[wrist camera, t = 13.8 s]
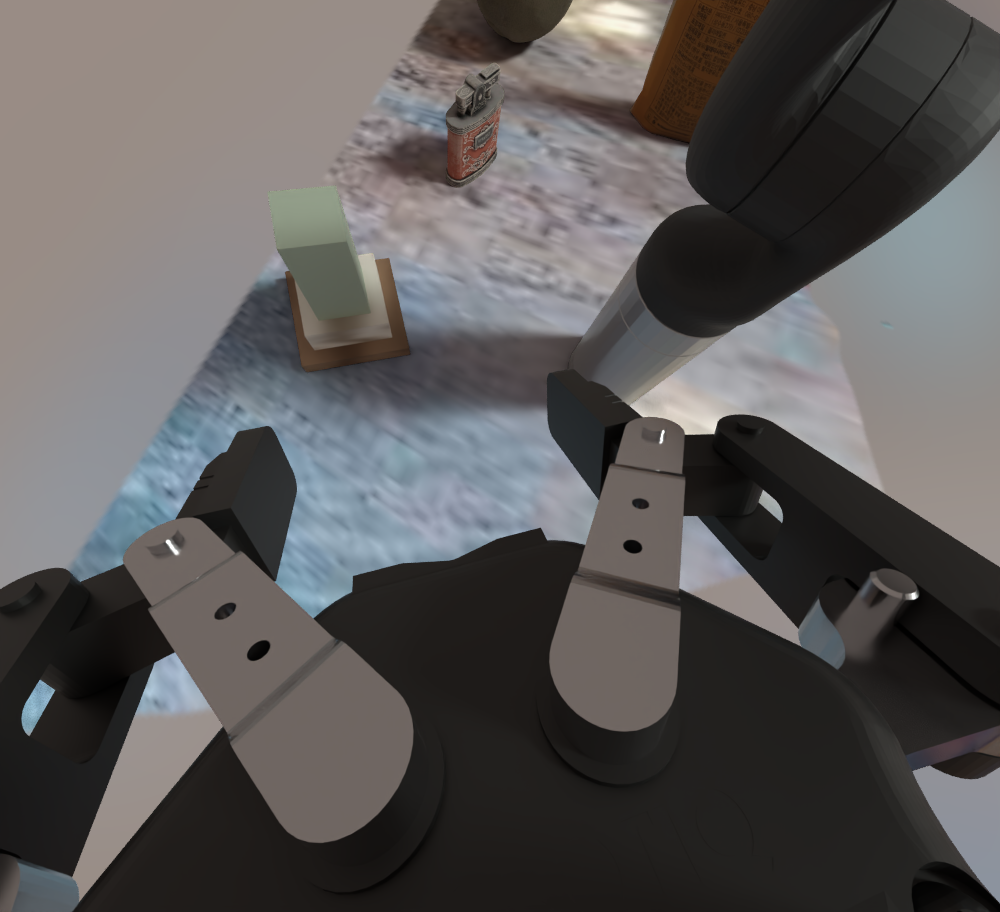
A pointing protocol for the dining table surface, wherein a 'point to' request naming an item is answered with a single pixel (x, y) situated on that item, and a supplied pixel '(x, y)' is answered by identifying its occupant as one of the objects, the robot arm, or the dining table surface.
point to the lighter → (474, 126)
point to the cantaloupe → (523, 17)
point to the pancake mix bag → (692, 62)
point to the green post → (319, 250)
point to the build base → (356, 349)
